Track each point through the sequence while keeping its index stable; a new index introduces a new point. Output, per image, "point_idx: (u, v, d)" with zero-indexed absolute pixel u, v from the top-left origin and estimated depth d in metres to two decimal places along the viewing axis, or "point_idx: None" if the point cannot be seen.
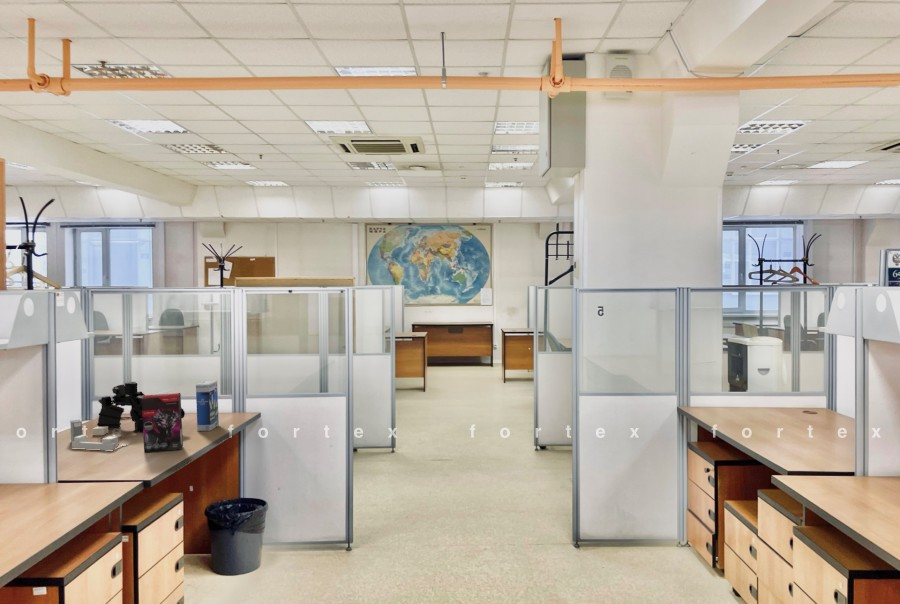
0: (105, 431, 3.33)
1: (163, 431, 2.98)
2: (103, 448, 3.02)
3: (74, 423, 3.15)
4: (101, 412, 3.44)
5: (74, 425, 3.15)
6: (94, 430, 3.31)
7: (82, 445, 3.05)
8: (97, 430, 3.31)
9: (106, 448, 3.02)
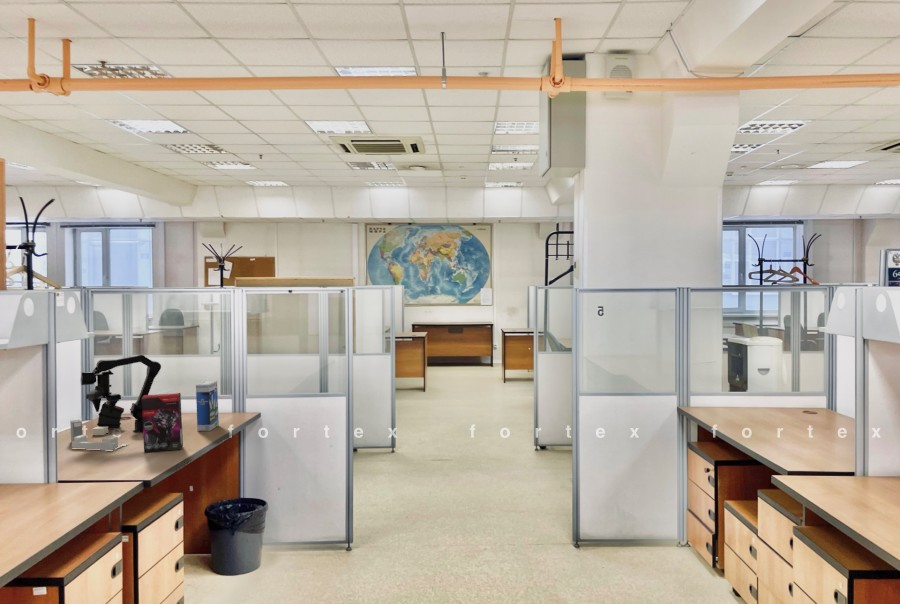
0: (105, 431, 3.33)
1: (163, 431, 2.98)
2: (103, 448, 3.02)
3: (74, 423, 3.15)
4: (101, 412, 3.44)
5: (74, 425, 3.15)
6: (94, 430, 3.31)
7: (82, 445, 3.05)
8: (97, 430, 3.31)
9: (106, 448, 3.02)
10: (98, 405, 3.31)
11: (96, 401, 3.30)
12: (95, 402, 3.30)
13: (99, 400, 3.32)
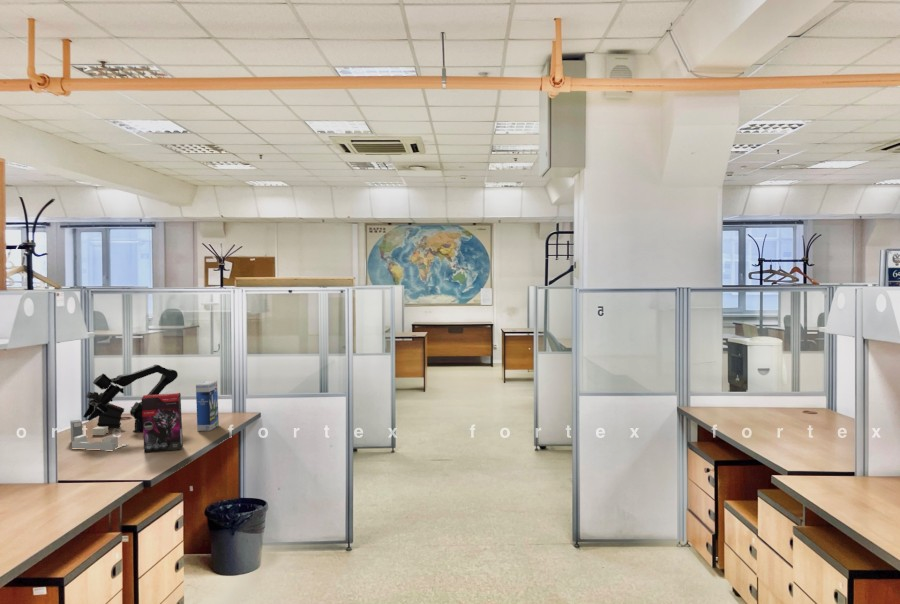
0: (105, 431, 3.33)
1: (163, 431, 2.98)
2: (103, 448, 3.02)
3: (74, 423, 3.15)
4: None
5: (74, 425, 3.15)
6: (94, 430, 3.31)
7: (82, 445, 3.05)
8: (97, 430, 3.31)
9: (106, 448, 3.02)
10: (89, 413, 3.27)
11: (91, 408, 3.28)
12: (90, 408, 3.27)
13: None
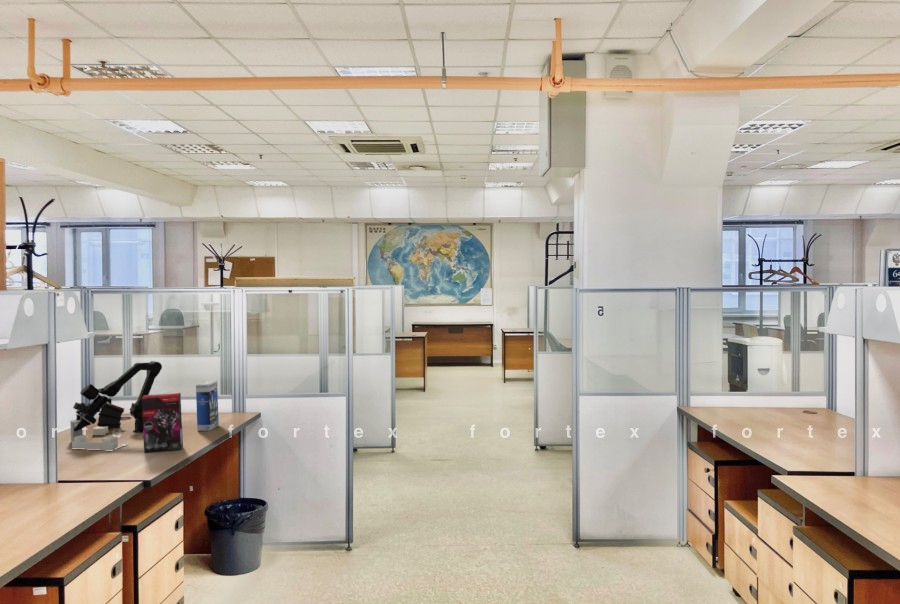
0: (105, 431, 3.33)
1: (163, 431, 2.98)
2: (103, 448, 3.02)
3: (74, 423, 3.15)
4: (101, 412, 3.44)
5: (74, 425, 3.15)
6: (94, 430, 3.31)
7: (82, 445, 3.05)
8: (97, 430, 3.31)
9: (106, 448, 3.02)
10: None
11: (79, 419, 3.22)
12: (78, 419, 3.22)
13: None
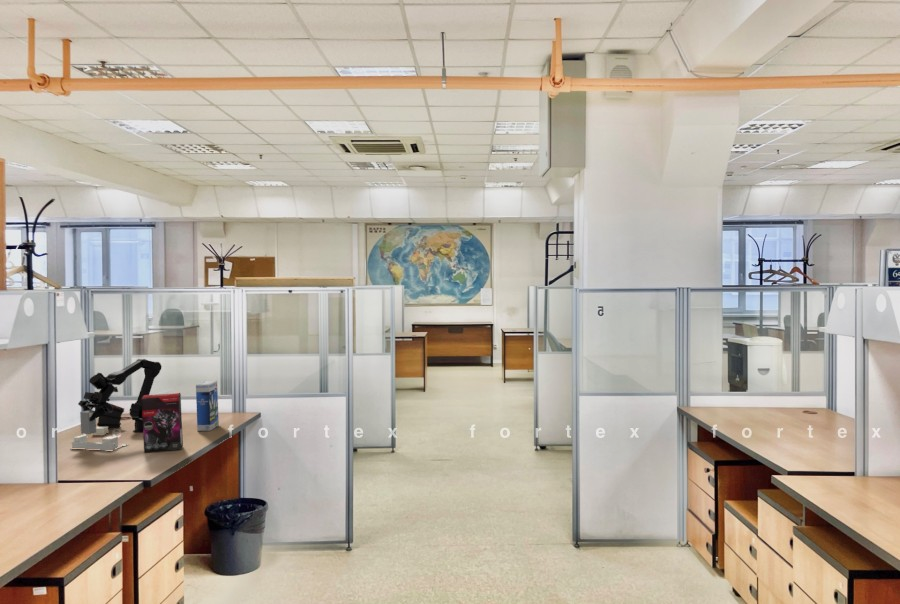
0: (105, 431, 3.33)
1: (163, 431, 2.98)
2: (103, 448, 3.02)
3: (89, 413, 3.07)
4: None
5: (89, 415, 3.07)
6: None
7: (82, 445, 3.05)
8: (97, 430, 3.31)
9: (106, 448, 3.02)
10: None
11: None
12: None
13: None
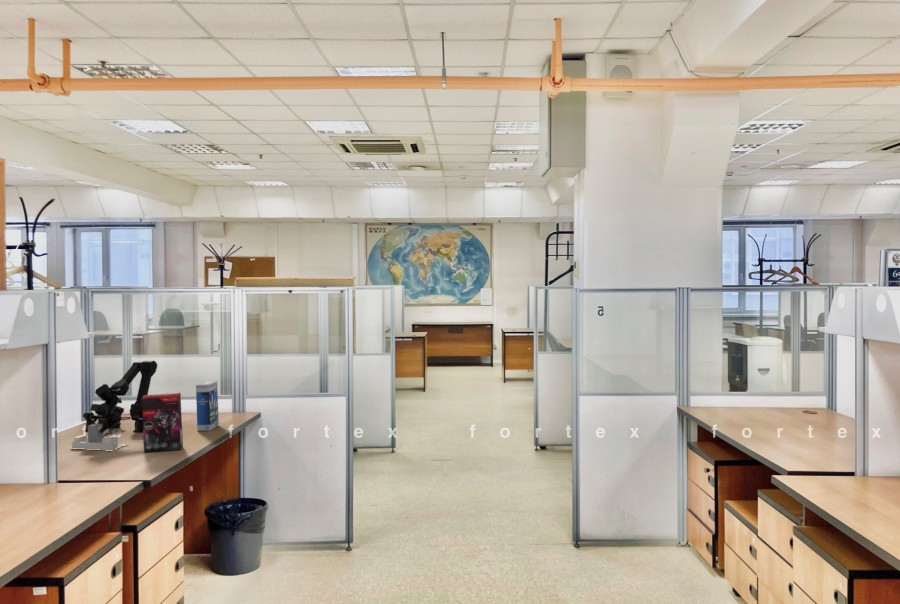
0: (105, 431, 3.33)
1: (163, 431, 2.98)
2: (103, 448, 3.02)
3: (98, 426, 3.06)
4: None
5: (98, 428, 3.06)
6: None
7: (82, 445, 3.05)
8: None
9: (106, 448, 3.02)
10: None
11: (90, 422, 3.12)
12: (89, 422, 3.11)
13: (93, 423, 3.13)
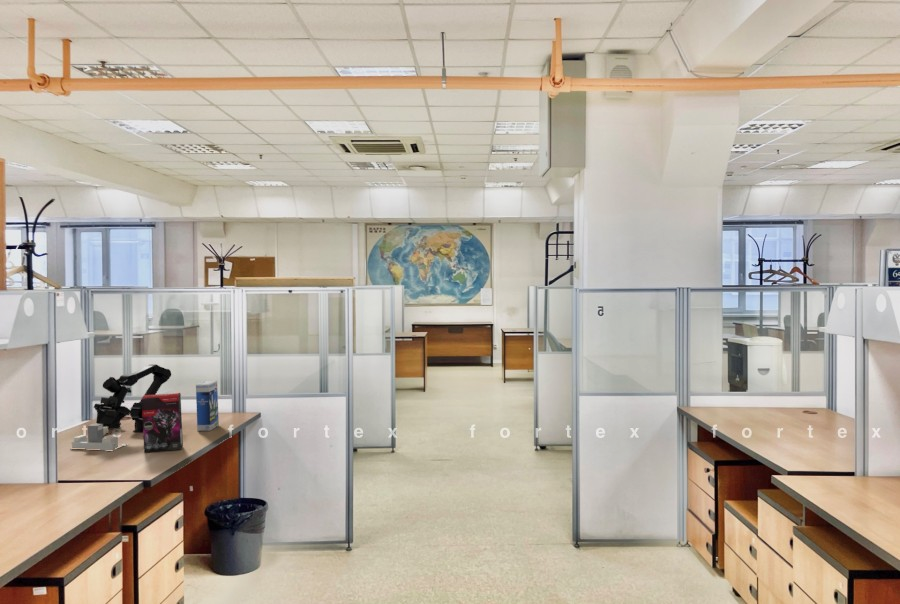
0: (105, 431, 3.33)
1: (163, 431, 2.98)
2: (103, 448, 3.02)
3: (98, 426, 3.06)
4: None
5: (98, 428, 3.06)
6: None
7: (82, 445, 3.05)
8: None
9: (106, 448, 3.02)
10: (100, 417, 3.21)
11: (101, 413, 3.22)
12: (100, 413, 3.21)
13: (103, 414, 3.23)
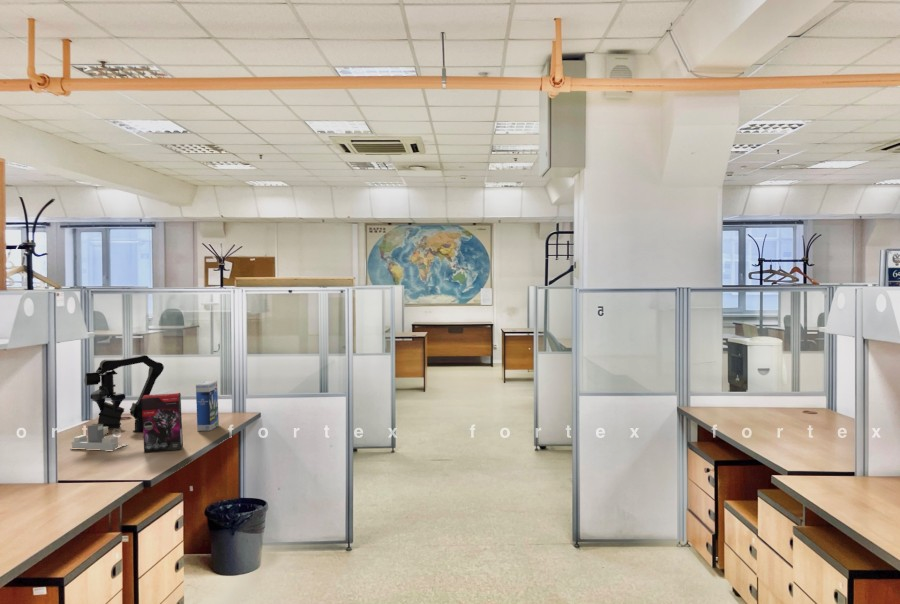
0: (105, 431, 3.33)
1: (163, 431, 2.98)
2: (103, 448, 3.02)
3: (98, 426, 3.06)
4: (101, 412, 3.44)
5: (98, 428, 3.06)
6: None
7: (82, 445, 3.05)
8: None
9: (106, 448, 3.02)
10: (102, 405, 3.31)
11: (100, 401, 3.30)
12: (99, 402, 3.30)
13: (103, 400, 3.32)
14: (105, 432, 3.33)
